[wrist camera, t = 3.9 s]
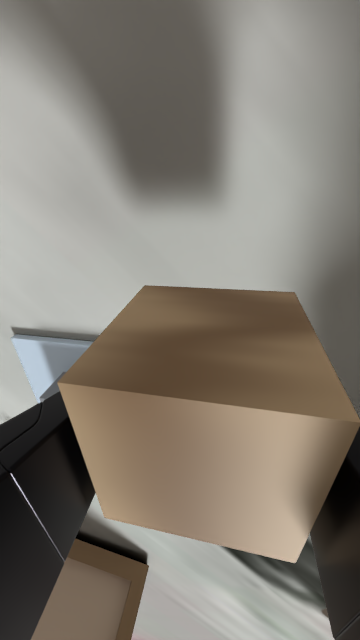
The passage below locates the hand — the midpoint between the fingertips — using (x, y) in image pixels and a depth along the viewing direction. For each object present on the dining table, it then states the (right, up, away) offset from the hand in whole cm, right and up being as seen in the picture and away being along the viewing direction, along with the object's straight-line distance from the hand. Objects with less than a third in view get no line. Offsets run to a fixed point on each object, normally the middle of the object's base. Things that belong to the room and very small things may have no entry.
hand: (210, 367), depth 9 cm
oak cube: (0, +1, +1) cm, 1 cm away
